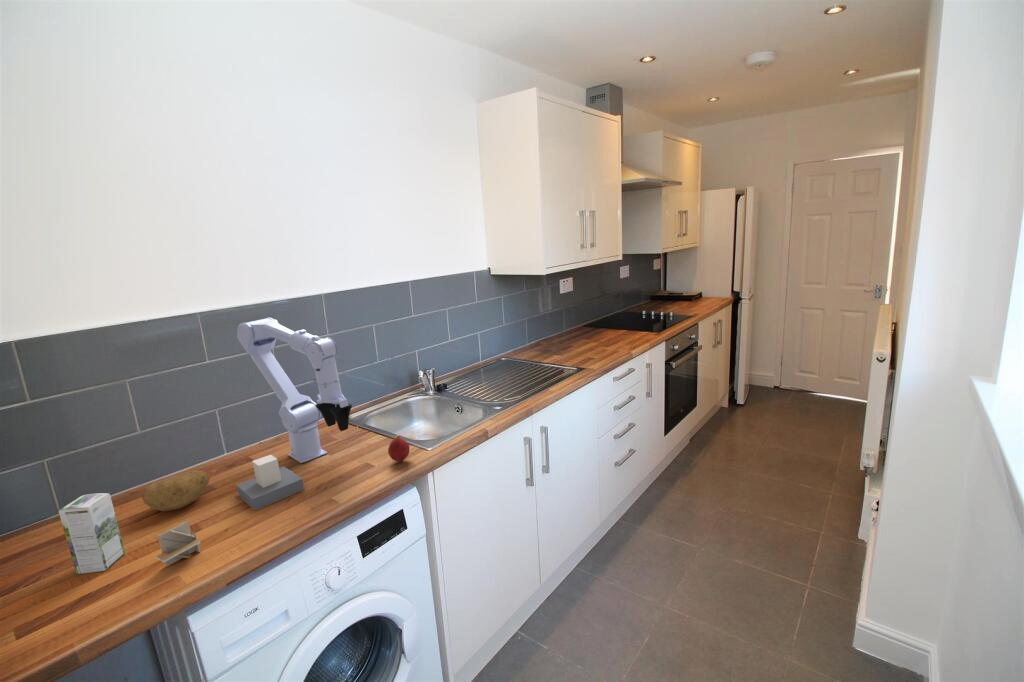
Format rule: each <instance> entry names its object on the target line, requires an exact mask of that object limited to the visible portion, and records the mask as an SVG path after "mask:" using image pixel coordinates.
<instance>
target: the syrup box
mask: <svg viewBox="0 0 1024 682" xmlns="http://www.w3.org/2000/svg"><path fill="white" fill-rule="evenodd" d="M58 513H59V517H60V522H61V524H62V525H61V526H62V528H63V532H64V535H65V539H66V543H67V545H68V549H69V553H70V557H71V560H72V563H73V566H74V570H75V573H76V575H83V574H90V573H98V572H105V571H107V570H108V569H109V568H110V567H111V566H113V565H114V564H115V563H116V562H117V561H118V560H119V559H120V558H122V557H123V555H125V548H124V545H123V540H122V536H121V533H120V532H121V531H120V528H119V525H118V522H117V521H118V520H117V517H116V513H115V510H114V504H113V501H112V498H111V494H110V493H107V492H105V493H103V492H101V493H90V494H89V493H87V494H83V495H81V496H79V497H77V498H76V499H75V500H73V501H71V502H70V503H68V504H67V505H65V506H64V507H62V508H60V509H59V510H58Z"/></svg>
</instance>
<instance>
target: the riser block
mask: <svg viewBox="0 0 1024 682" xmlns="http://www.w3.org/2000/svg"><path fill="white" fill-rule="evenodd" d="M279 470H280V475H281V480H282V481H279V482H277V483H274V484H272V485H269V486H267V487H264V488H263V487H262V486H260V485H259V484H258V483H257V481H256V476H255V477H252V478H250V479H246V480H244V481H241V482H239V483H237V484H236V485H235V486H236V490H237V493H238V494H237V495H238V496H239V497H240V498H241V499H242V500H243V501H244V502H246V504H247V505H248V506H249V507H250V508H252V509H253V510H254V511H257V510H260V509H262V508H264V507H267V506H268V505H271V504H274V503H276V502H278V501H281V500H283V499H285V498H287V497H290V496H292V495H295V494H297V493H299V492H302V491H304V490H305V486H304V481H303V478H302V477H300V476H299V475H298V474H296V473H294V472H293V471H292V470H290V469H288V468H287V467H286V466H285V465H284V466H281V467H279Z"/></svg>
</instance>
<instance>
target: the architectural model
mask: <svg viewBox="0 0 1024 682" xmlns="http://www.w3.org/2000/svg"><path fill="white" fill-rule="evenodd" d="M157 539H158V541H159V545H160V550H161V553H160V554H157V555H156V556H155V559H158V560H159V561H160V562H162V563H164V565H165V567H166V568H167V567H169V566H171V565H173V564H174V563H176V562H179V561H180V560H181V559H184V558H186V559H191V558H192V553H194V552H196V551H197V553H198V552H200V553H201V549H200V545H199V544H200V543H201V541H200V540H199V539H198V537H197V536H196V532H194V533H192V532H191V528H190V524H189V520H187V521H185V522H183V523H181V524H179V525H177V526H174V527H172V528H171V529H169V530H166V531H165V532H163V533H161V534H159V535H157ZM190 553H191V554H190ZM190 557H191V558H190ZM170 564H171V565H170Z"/></svg>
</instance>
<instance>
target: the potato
mask: <svg viewBox="0 0 1024 682" xmlns="http://www.w3.org/2000/svg"><path fill="white" fill-rule="evenodd" d="M210 480H211V477H210V475H209V473H207V472H206V471H203V470H191V471H188V472H184V473H181V474H177V475H173V476H169V477H167V478H164V479H162V480H158V481H156V482H155V481H154V482H153V483H151V484H149V485H147V486H146V488H145V489H144V490H143V492H142V500H143V503H144V504H145V505H146V506H148V507H149V508H150V509H153V510H156V511H161V512H168V511H174V510H175V511H176V510H179V509H182V508H185V507H187V506H188V505H190V504H192V503H193V502H194V501H195V500H197V499H198V498H199V497H200V496H201V495H202V494H203V493H204V492H205V491H206V489H207V487H208V485H209V483H210Z"/></svg>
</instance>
